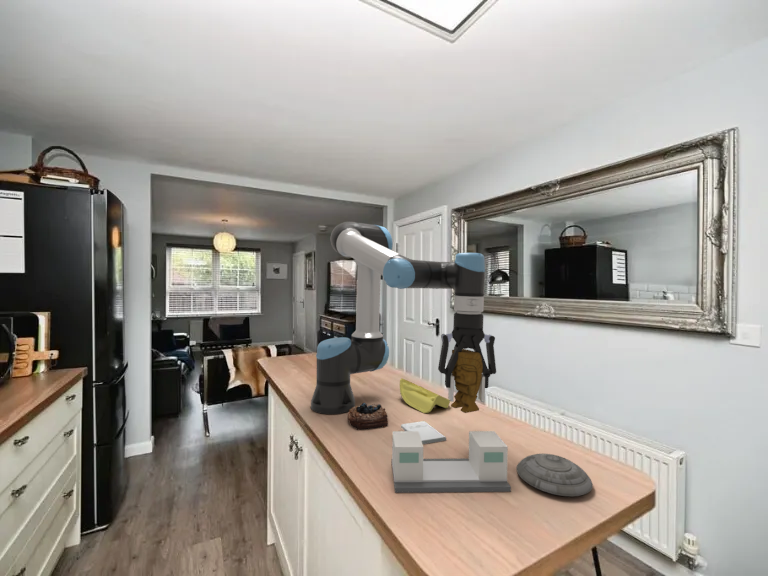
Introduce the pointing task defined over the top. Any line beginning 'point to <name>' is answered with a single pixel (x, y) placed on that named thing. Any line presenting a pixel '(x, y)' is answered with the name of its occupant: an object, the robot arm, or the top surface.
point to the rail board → (450, 465)
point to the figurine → (467, 380)
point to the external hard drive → (424, 432)
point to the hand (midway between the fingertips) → (466, 399)
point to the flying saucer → (554, 475)
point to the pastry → (368, 417)
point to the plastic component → (421, 397)
